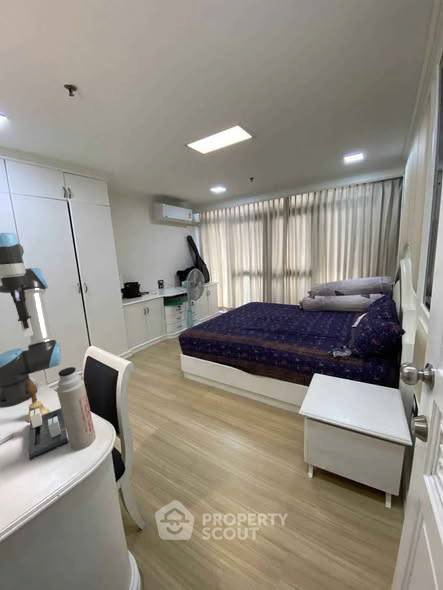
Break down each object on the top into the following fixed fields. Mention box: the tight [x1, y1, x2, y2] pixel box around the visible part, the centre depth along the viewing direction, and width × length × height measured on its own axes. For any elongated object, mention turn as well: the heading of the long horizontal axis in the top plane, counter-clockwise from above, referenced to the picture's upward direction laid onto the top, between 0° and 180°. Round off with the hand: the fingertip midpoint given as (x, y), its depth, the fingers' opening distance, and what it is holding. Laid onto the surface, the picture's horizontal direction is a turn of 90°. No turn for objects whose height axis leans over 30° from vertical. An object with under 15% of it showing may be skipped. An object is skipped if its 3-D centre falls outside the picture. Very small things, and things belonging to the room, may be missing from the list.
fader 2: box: [48, 416, 61, 438], centre depth 89 cm, size 4×3×6 cm
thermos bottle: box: [56, 366, 96, 451], centre depth 85 cm, size 8×8×28 cm
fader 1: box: [30, 408, 42, 428], centre depth 95 cm, size 4×3×6 cm
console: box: [27, 407, 69, 461], centre depth 93 cm, size 22×11×3 cm, turn 36°
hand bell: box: [25, 380, 51, 423], centre depth 103 cm, size 8×8×16 cm
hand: (28, 335), depth 96 cm, fingers closed
